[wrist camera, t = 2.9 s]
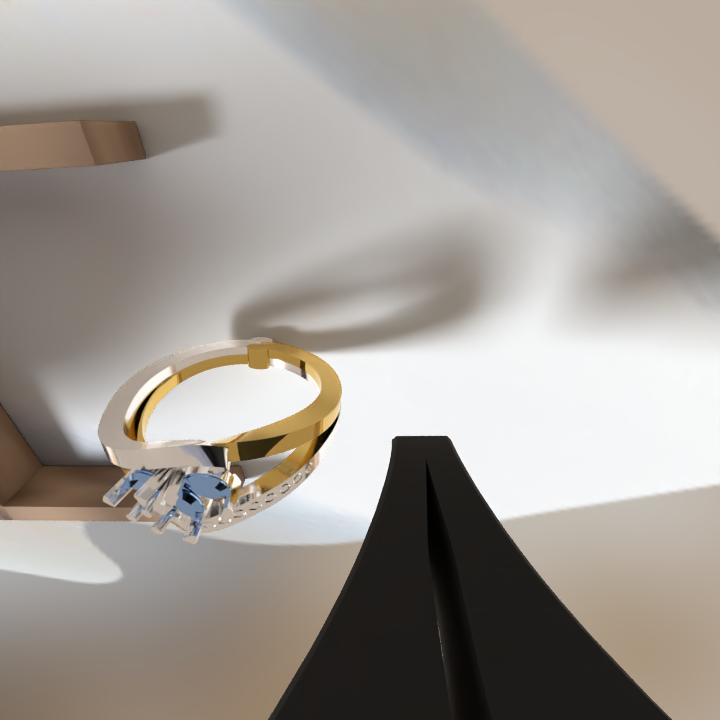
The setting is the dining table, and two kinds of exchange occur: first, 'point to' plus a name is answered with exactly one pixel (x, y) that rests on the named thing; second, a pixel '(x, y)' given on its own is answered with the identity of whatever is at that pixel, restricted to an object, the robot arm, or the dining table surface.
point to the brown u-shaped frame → (3, 441)
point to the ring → (212, 460)
